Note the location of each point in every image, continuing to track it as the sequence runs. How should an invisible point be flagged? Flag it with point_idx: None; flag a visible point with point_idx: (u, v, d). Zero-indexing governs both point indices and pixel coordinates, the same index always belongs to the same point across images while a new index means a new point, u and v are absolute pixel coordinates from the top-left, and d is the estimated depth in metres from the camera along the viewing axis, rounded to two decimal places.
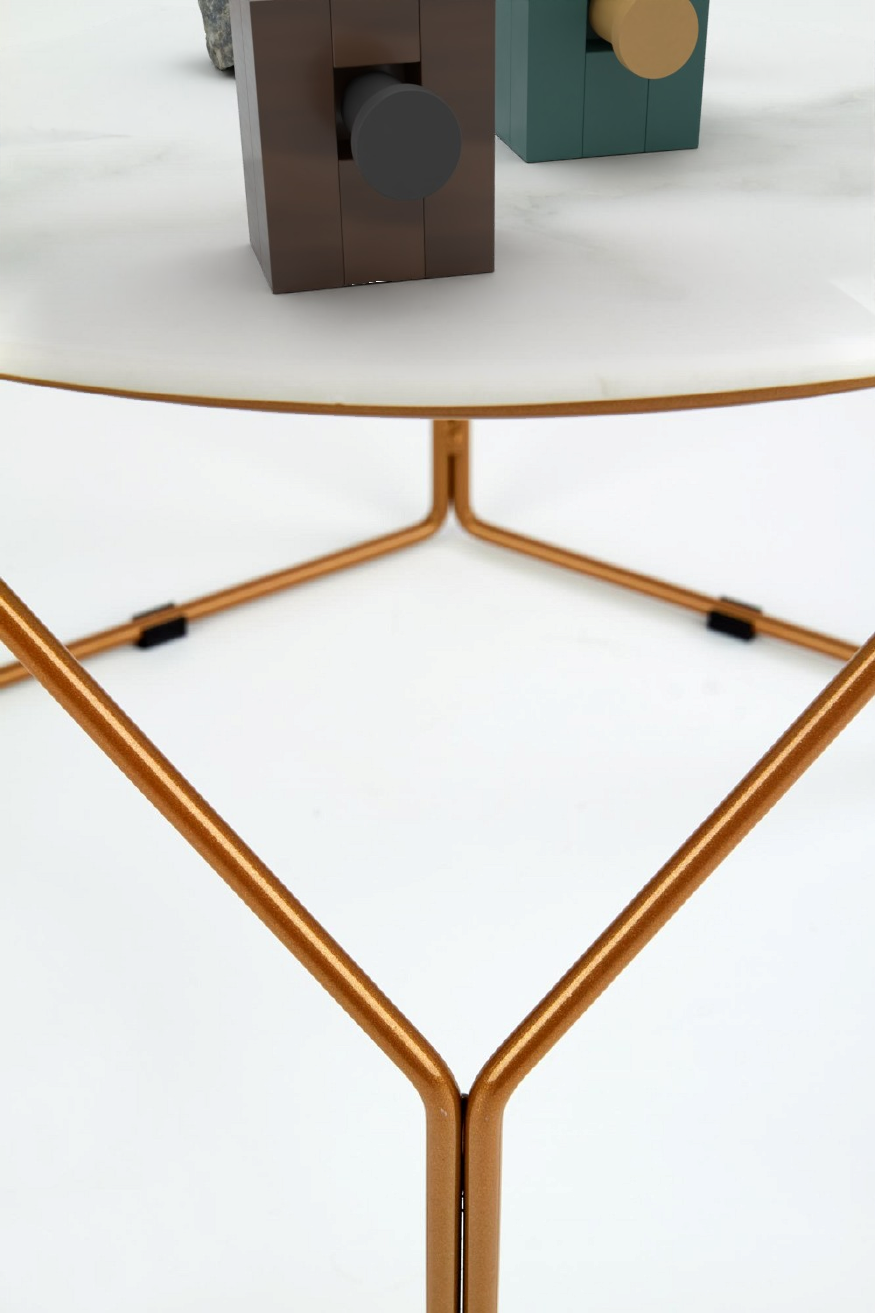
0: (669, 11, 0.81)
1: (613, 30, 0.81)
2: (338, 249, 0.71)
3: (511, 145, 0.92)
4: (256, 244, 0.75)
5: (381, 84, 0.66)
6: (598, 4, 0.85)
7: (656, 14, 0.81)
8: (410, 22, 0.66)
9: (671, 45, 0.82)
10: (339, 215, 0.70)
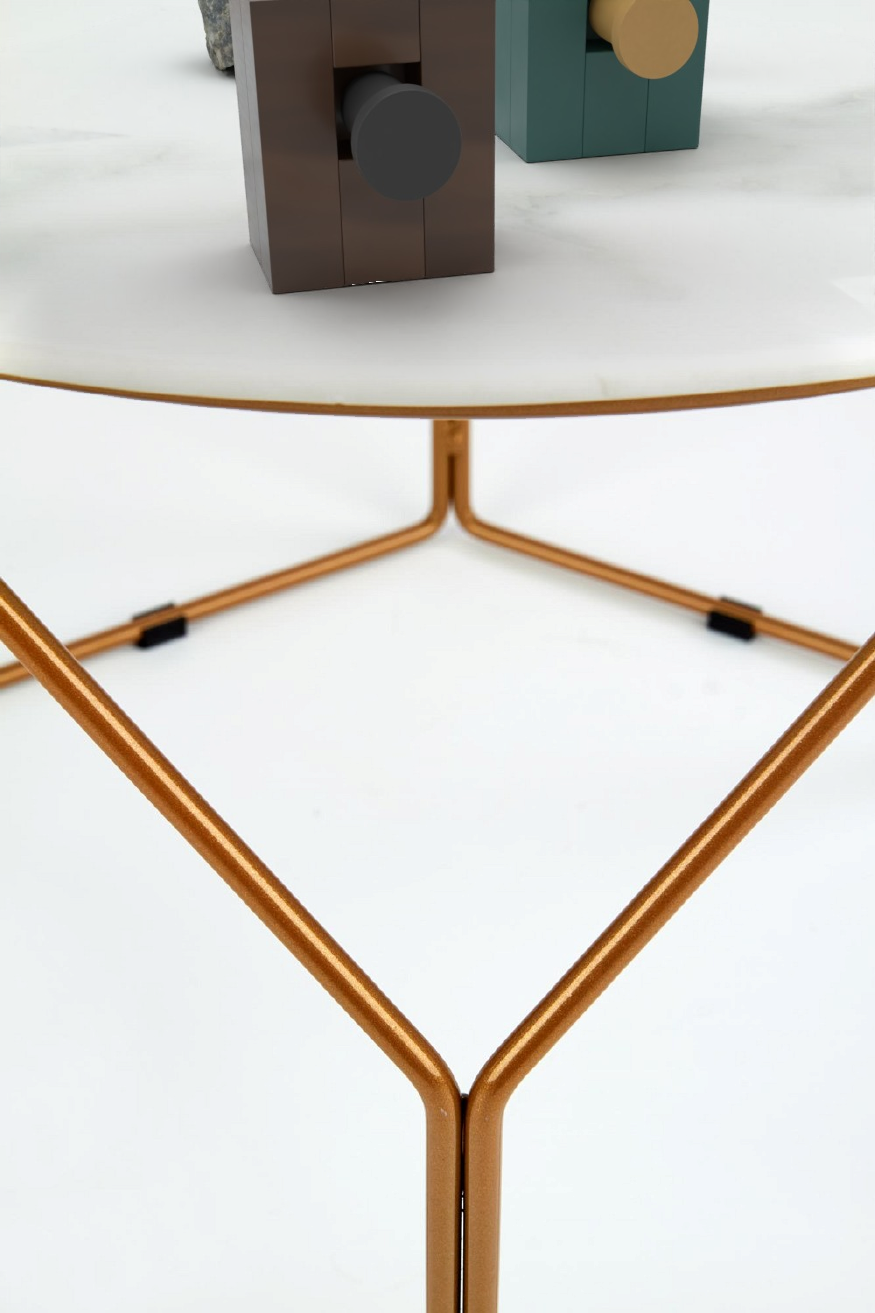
0: (669, 11, 0.81)
1: (613, 30, 0.81)
2: (338, 249, 0.71)
3: (511, 145, 0.92)
4: (256, 244, 0.75)
5: (381, 84, 0.66)
6: (598, 4, 0.85)
7: (656, 14, 0.81)
8: (410, 22, 0.66)
9: (671, 45, 0.82)
10: (339, 215, 0.70)
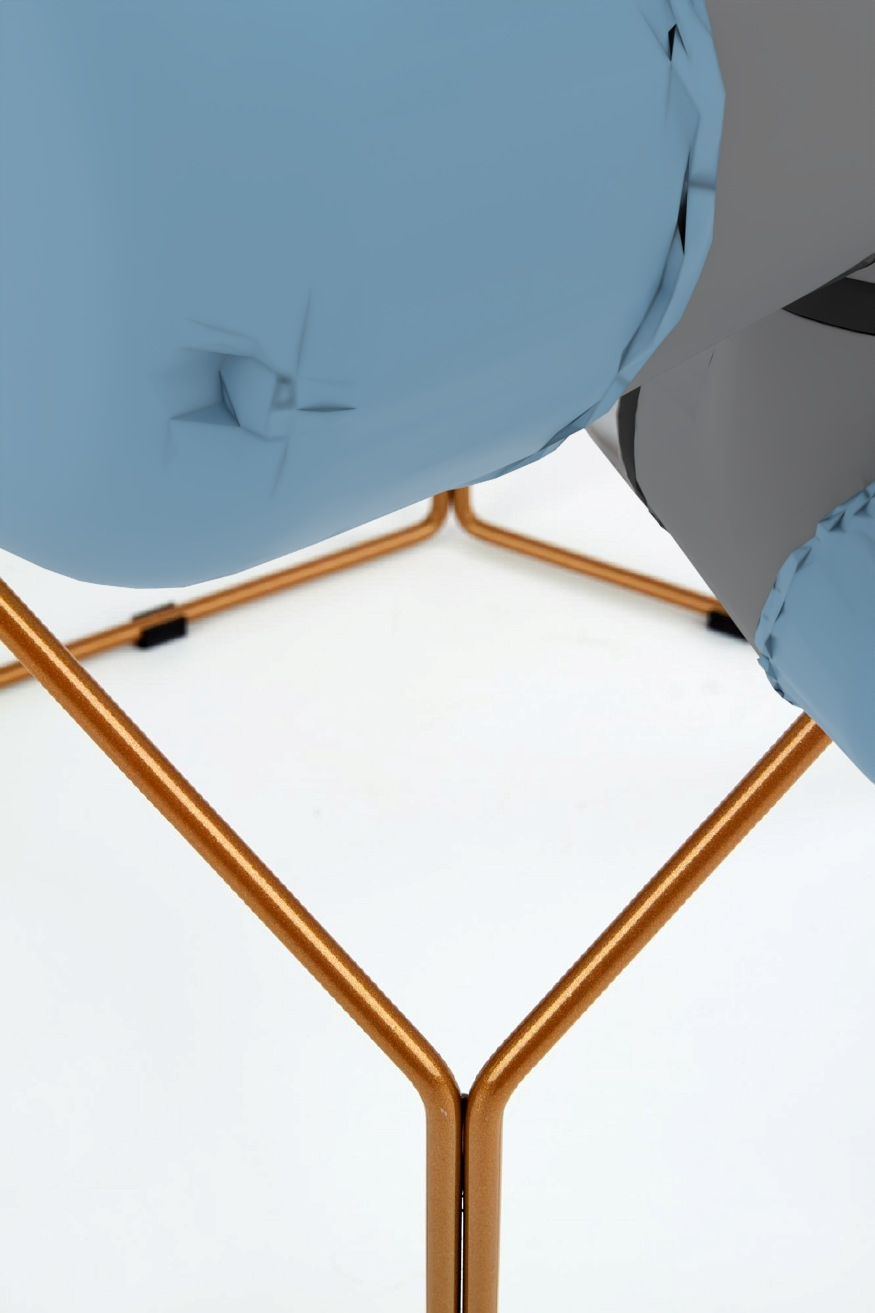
0: None
1: None
2: None
3: None
4: None
5: None
6: None
7: None
8: None
9: None
10: None
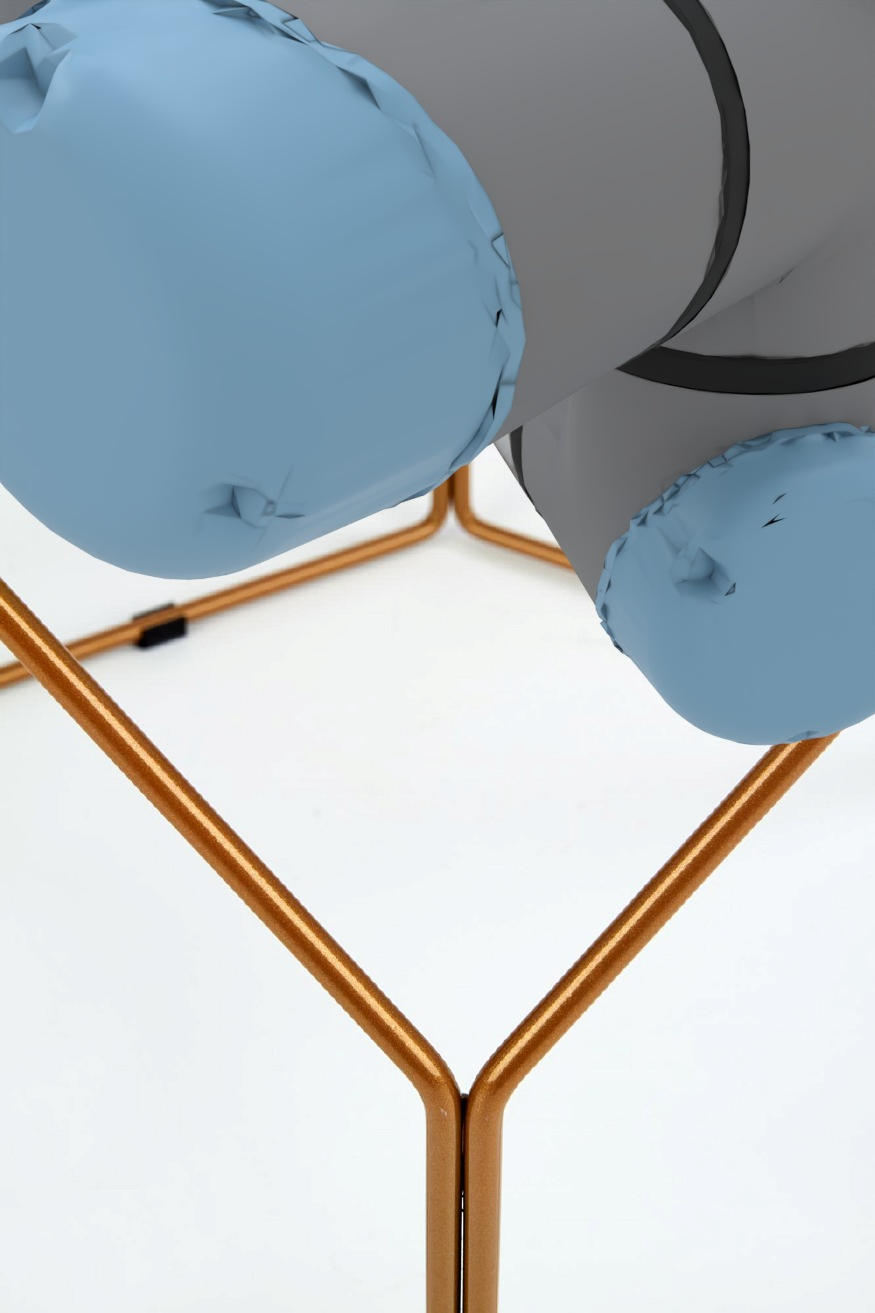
0: None
1: None
2: None
3: None
4: None
5: None
6: None
7: None
8: None
9: None
10: None
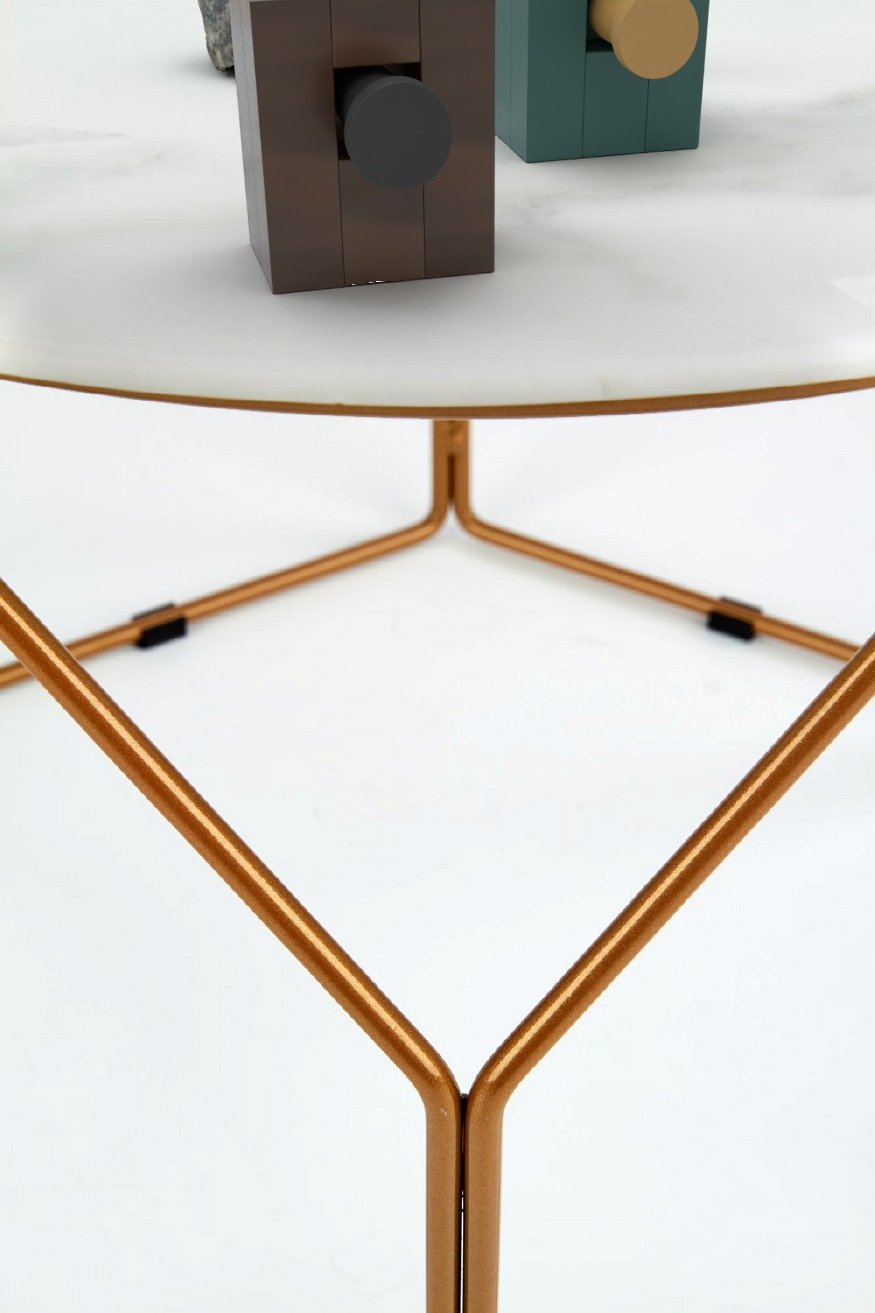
0: (669, 11, 0.81)
1: (613, 30, 0.81)
2: (338, 249, 0.71)
3: (511, 145, 0.92)
4: (256, 244, 0.75)
5: (374, 77, 0.67)
6: (598, 4, 0.85)
7: (656, 14, 0.81)
8: (410, 22, 0.66)
9: (671, 45, 0.82)
10: (339, 215, 0.70)
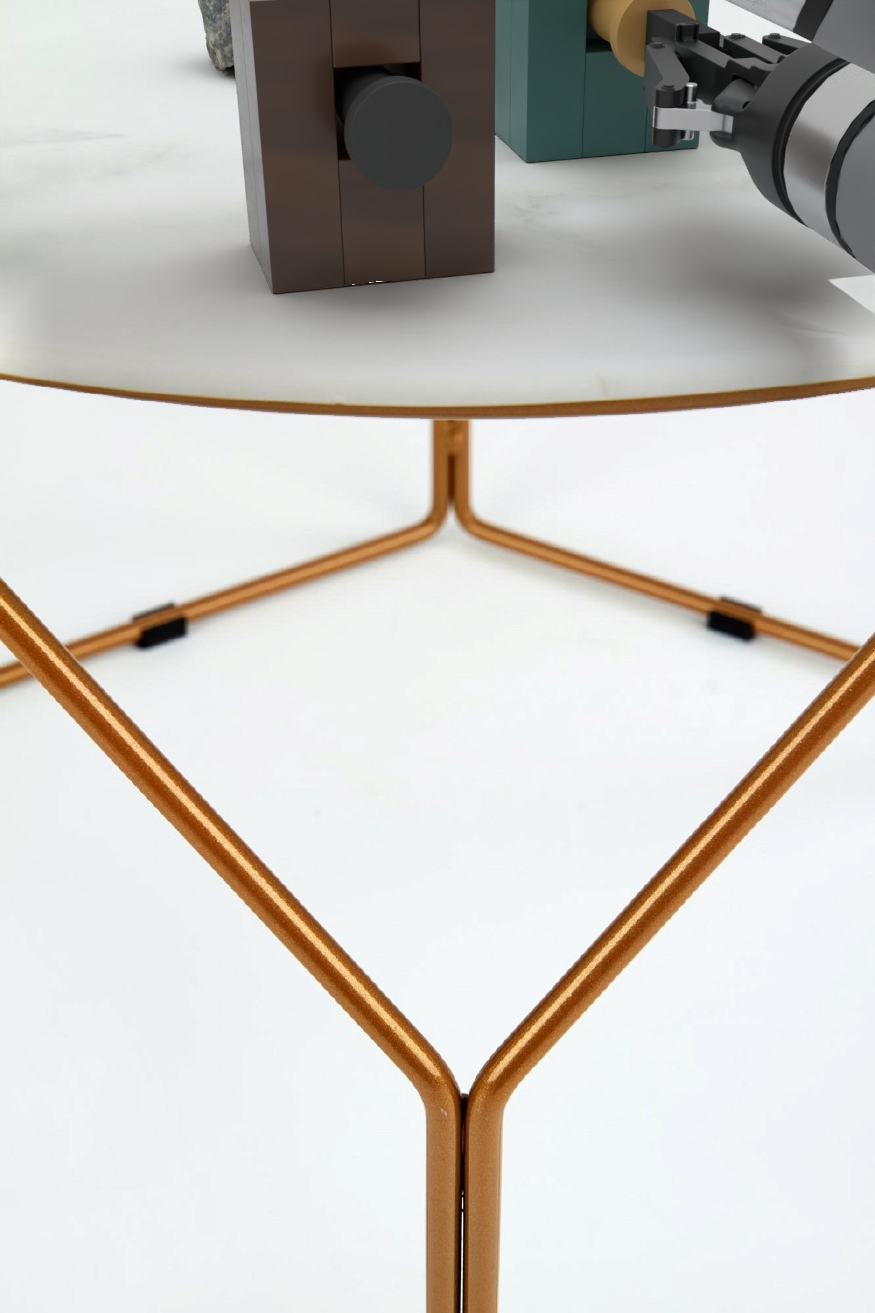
0: None
1: (611, 29, 0.82)
2: (338, 249, 0.71)
3: (511, 145, 0.92)
4: (256, 244, 0.75)
5: (374, 77, 0.67)
6: (596, 3, 0.85)
7: None
8: (410, 22, 0.66)
9: None
10: (339, 215, 0.70)
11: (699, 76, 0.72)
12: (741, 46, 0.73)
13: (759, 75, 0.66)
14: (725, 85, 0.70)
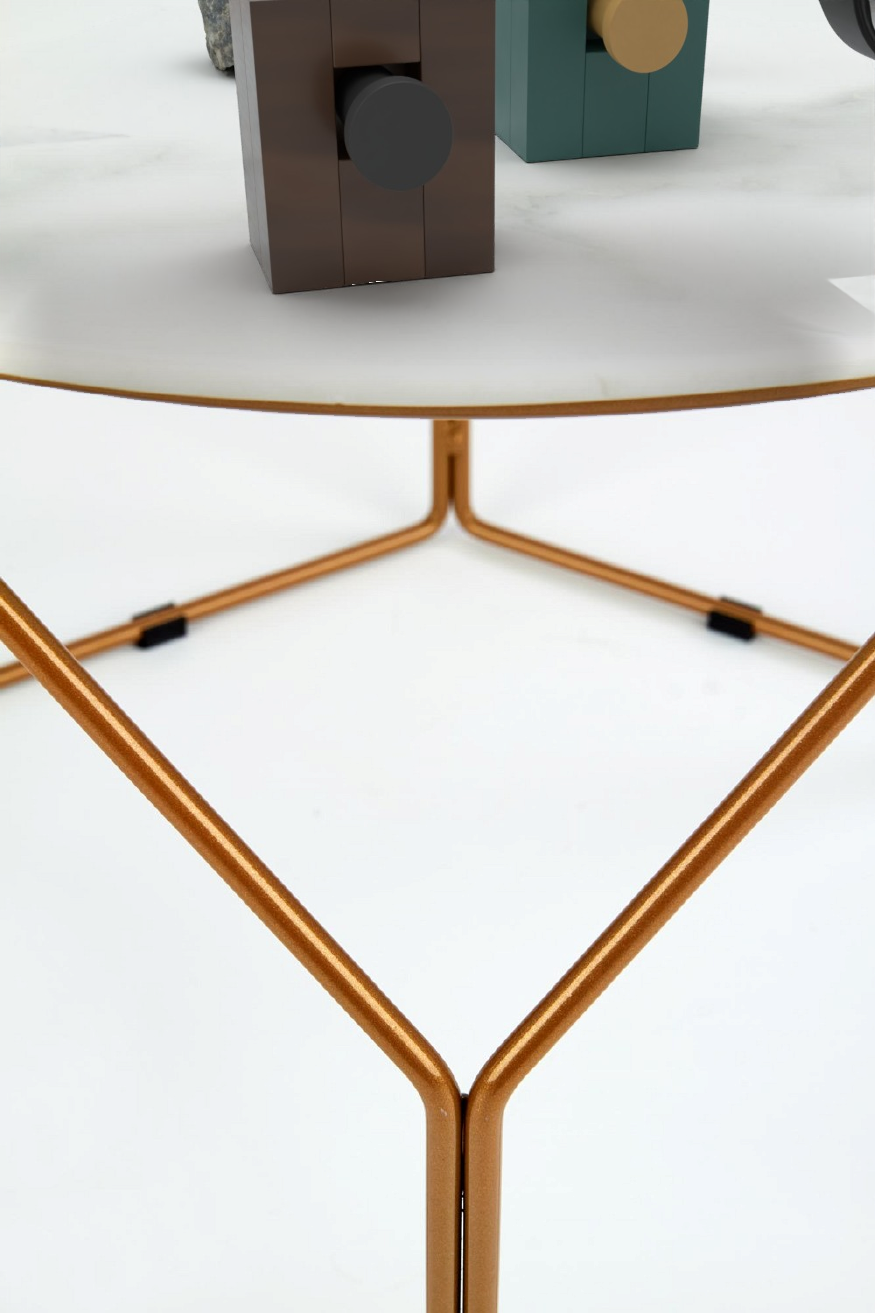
0: (659, 6, 0.82)
1: (604, 25, 0.83)
2: (338, 249, 0.71)
3: (511, 145, 0.92)
4: (256, 244, 0.75)
5: (374, 77, 0.67)
6: None
7: (647, 8, 0.82)
8: (410, 22, 0.66)
9: (661, 39, 0.83)
10: (339, 215, 0.70)
11: None
12: None
13: None
14: None
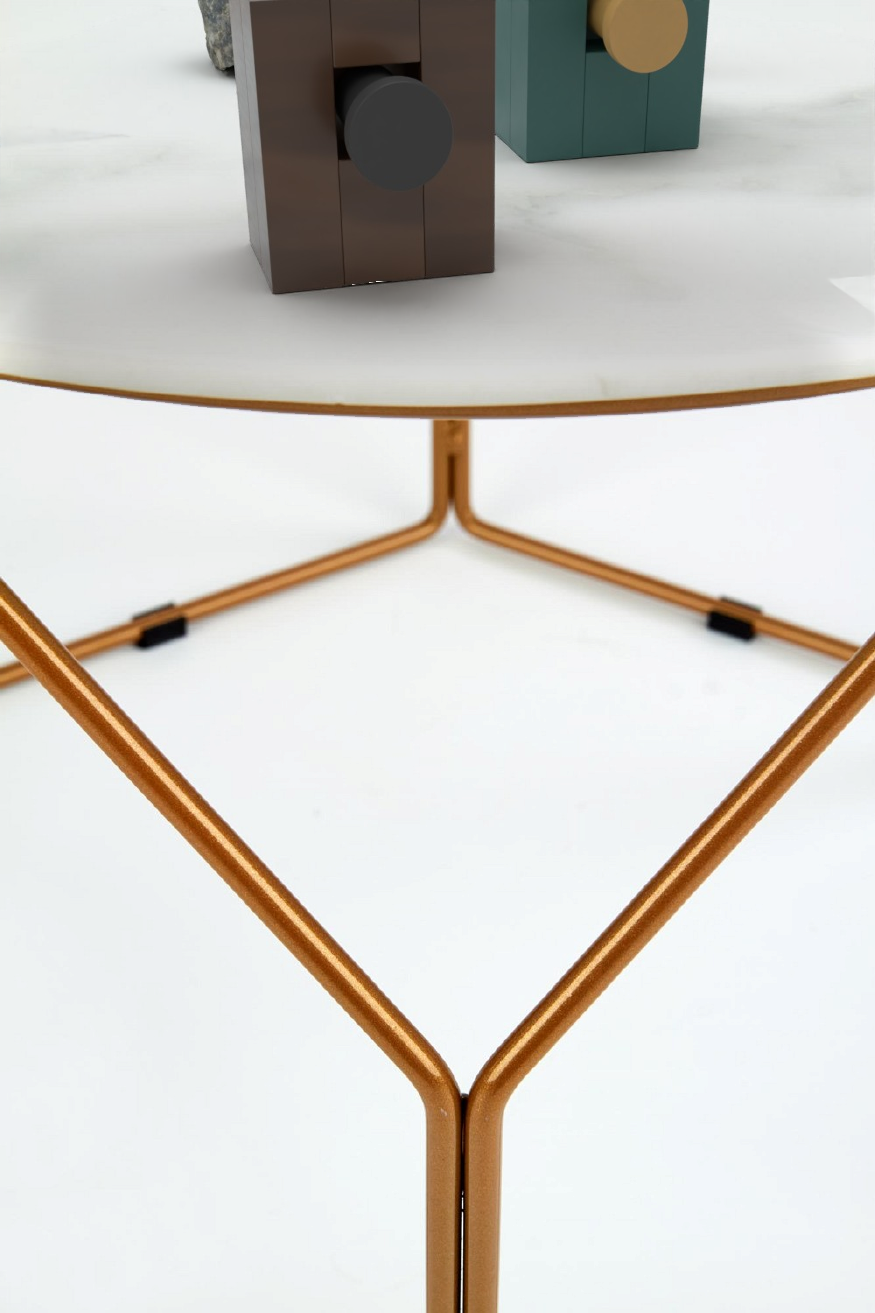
0: (659, 6, 0.82)
1: (604, 25, 0.83)
2: (338, 249, 0.71)
3: (511, 145, 0.92)
4: (256, 244, 0.75)
5: (374, 77, 0.67)
6: None
7: (647, 8, 0.82)
8: (410, 22, 0.66)
9: (661, 39, 0.83)
10: (339, 215, 0.70)
11: None
12: None
13: None
14: None
